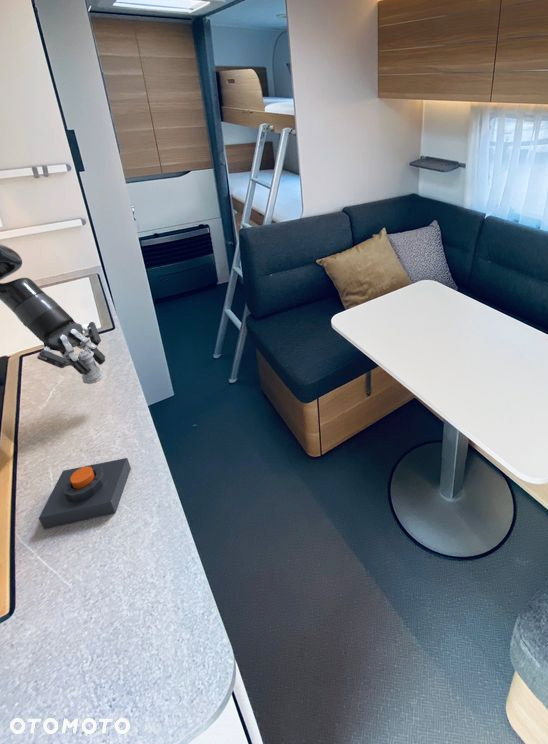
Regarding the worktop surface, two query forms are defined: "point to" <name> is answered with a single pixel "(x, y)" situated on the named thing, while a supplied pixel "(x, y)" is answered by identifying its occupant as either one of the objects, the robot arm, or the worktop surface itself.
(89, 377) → the rook chess piece
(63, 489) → the control box
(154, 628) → the worktop surface
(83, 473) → the button
